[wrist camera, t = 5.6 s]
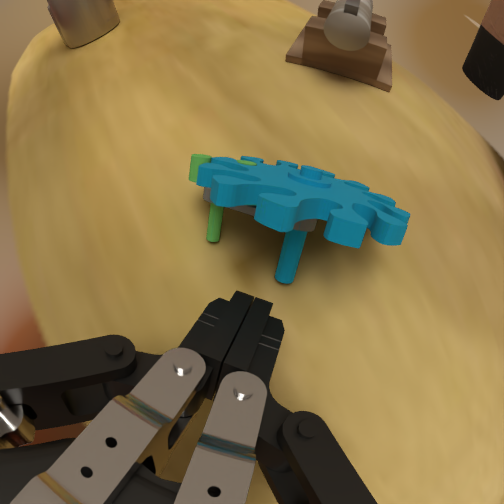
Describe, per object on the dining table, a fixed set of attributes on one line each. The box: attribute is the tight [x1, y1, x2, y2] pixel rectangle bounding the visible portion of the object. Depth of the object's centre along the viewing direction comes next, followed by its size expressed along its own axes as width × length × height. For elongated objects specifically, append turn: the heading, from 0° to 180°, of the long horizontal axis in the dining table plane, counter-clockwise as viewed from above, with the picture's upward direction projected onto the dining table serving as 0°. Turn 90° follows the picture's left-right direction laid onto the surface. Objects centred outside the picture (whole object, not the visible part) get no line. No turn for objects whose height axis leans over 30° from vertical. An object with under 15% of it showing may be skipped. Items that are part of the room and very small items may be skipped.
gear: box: [189, 154, 410, 284], centre depth 14 cm, size 11×6×10 cm
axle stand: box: [286, 0, 392, 92], centre depth 18 cm, size 12×10×8 cm
